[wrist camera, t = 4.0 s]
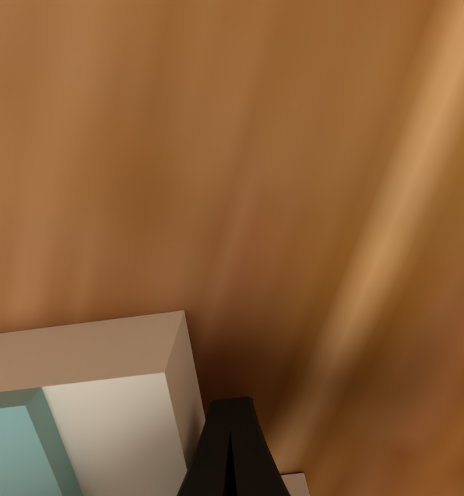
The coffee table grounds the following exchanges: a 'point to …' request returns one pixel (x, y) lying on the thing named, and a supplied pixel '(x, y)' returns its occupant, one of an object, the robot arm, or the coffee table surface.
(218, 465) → the robot arm
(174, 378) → the white and teal box
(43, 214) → the coffee table surface
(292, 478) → the board
